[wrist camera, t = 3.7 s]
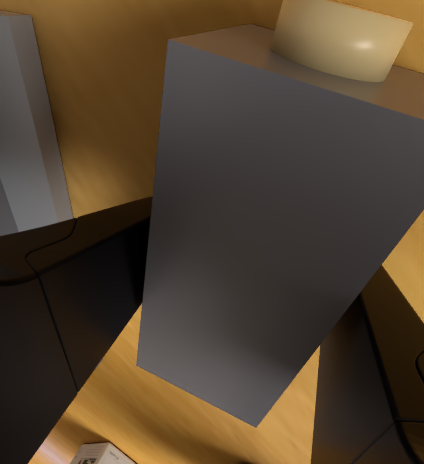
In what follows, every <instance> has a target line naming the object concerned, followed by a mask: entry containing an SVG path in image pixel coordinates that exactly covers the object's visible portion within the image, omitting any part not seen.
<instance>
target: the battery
mask: <svg viewBox="0 0 424 464" xmlns="http://www.w3.org/2000/svg"><path fill="white" fill-rule="evenodd" d="M413 24H414V23H412V22H409V21H406V20H403V19H400V18H396V17H393V16H389V15H386V14H382V13H378V12H375V11H371V10H368V9H364V8H360V7H356V6H353V5H349V4H345V3H341V2H337V1H334V0H283V2H282V6H281V10H280V13H279V17H278V20H277V24H276V28H275V31H274V30H271V29H267V28H264V27H261V26H257V25H254V24H246V25H241V26H236V27H230V28H225V29H220V30H214V31H209V32H204V33H198V34H193V35H188V36H183V37H177V38H172V39H168V44H167V54H166V64H165V75H164V85H163V95H162V106H161V116H160V126H159V137H158V147H157V157H156V168H155V178H154V188H153V199H152V209H151V219H150V229H149V240H148V250H147V260H146V271H145V281H144V291H143V302H142V312H141V322H140V333H139V343H138V353H137V364H136V365H137V366H139V367H140V368H142V369H144V370H146V371H148V372H150V373H152V374H154V375H156V376H158V377H160V378H162V379H163V380H165V381H167V382H169V383H171V384H173V385H175V386H177V387H179V388H181V389H183V390H185V391H186V392H188V393H190V394H192V395H194V396H196V397H198V398H200V399H202V400H204V401H206V402H208V403H209V404H211V405H213V406H215V407H217V408H219V409H221V410H223V411H225V412H227V413H229V414H231V415H232V416H234V417H236V418H238V419H240V420H242V421H244V422H246V423H248V424H250V425H252V426H254V427H255V428H256V427H257V426H258V425H259V423H260V422H261V421H262V420H263V418H264V417H265V416H266V414H267V413H268V412H269V410H270V409H271V408H272V407H273V405H274V404H275V403H276V401H277V400H278V399H279V397H280V396H281V395H282V394H283V392H284V391H285V390H286V388H287V387H288V386H289V384H290V383H291V382H292V380H293V379H294V378H295V377H296V375H297V374H298V373H299V371H300V370H301V369H302V367H303V366H304V365H305V364H306V362H307V361H308V360H309V358H310V357H311V356H312V354H313V353H314V352H315V351H316V349H317V348H318V347H319V345H320V344H321V343H322V341H323V340H324V339H325V337H326V336H327V335H328V334H329V332H330V331H331V330H332V328H333V327H334V326H335V324H336V323H337V322H338V321H339V319H340V318H341V317H342V315H343V314H344V313H345V311H346V310H347V309H348V308H349V306H350V305H351V304H352V302H353V301H354V300H355V298H356V297H357V296H358V295H359V293H360V292H361V291H362V289H363V288H364V287H365V285H366V284H367V283H368V281H369V280H370V279H371V278H372V276H373V275H374V274H375V272H376V271H377V270H378V268H379V267H380V266H381V265H382V263H383V262H384V261H385V259H386V258H387V257H388V255H389V254H390V253H391V252H392V250H393V249H394V248H395V246H396V245H397V244H398V242H399V241H400V240H401V238H402V237H403V236H404V235H405V233H406V232H407V231H408V229H409V228H410V227H411V225H412V224H413V223H414V222H415V220H416V219H417V218H418V216H419V215H420V214H421V212H422V211H423V210H424V74H422V73H418V72H415V71H412V70H408V69H405V68H401V67H398V66H394V65H393V63H394V61H395V59H396V57H397V55H398V53H399V51H400V49H401V47H402V46H403V44H404V42H405V40H406V38H407V36H408V34H409V32H410V30H411V28H412V26H413Z"/></svg>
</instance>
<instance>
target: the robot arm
mask: <svg viewBox="0 0 424 464" xmlns="http://www.w3.org/2000/svg"><path fill="white" fill-rule="evenodd" d="M152 199H153V196H150V197H147V198H143V199H140V200H136V201H133V202H129V203H126V204H122V205H119V206H115V207H111V208H108V209H104V210H101V211H97V212H94V213H90V214H87V215H83V216H80V217H78V218H72V219H69V220H65V221H62V222H58V223H54V224H50V225H47V226H43V227H38V228H34V229H30V230H25V231H21V232H16V233H12V234H7V235H3V236H0V464H28V463H29V461H30V460H31V458H32V457H33V456H34V454H35V453H36V451H37V450H38V449H39V447H40V446H41V444H42V443H43V442H44V440H45V439H46V437H47V436H48V435H49V433H50V432H51V430H52V429H53V427H54V426H55V425H56V423H57V422H58V420H59V419H60V418H61V416H62V415H63V413H64V412H65V411H66V409H67V408H68V406H69V405H70V404H71V402H72V401H73V399H74V398H75V397H76V395H77V392H79V391H80V389H81V388H82V386H83V385H84V384H85V382H86V381H87V379H88V378H89V377H90V375H91V374H92V372H93V371H94V370H95V368H96V367H97V365H98V364H99V363H100V361H101V360H102V358H103V357H104V356H105V354H106V353H107V351H108V350H109V348H110V347H111V346H112V344H113V343H114V341H115V340H116V339H117V337H118V336H119V334H120V333H121V332H122V330H123V329H124V327H125V326H126V325H127V323H128V322H129V320H130V319H131V318H132V316H133V315H134V313H135V312H136V311H137V309H138V308H139V306H140V305H141V304H142V302H143V291H144V281H145V271H146V260H147V250H148V240H149V229H150V219H151V209H152ZM311 464H424V323H423V322H422V320H421V319H420V317H419V316H418V315H417V313H416V312H415V310H414V309H413V308H412V306H411V305H410V303H409V302H408V301H407V299H406V298H405V296H404V295H403V294H402V292H401V291H400V289H399V288H398V287H397V285H396V284H395V283H394V281H393V280H392V278H391V277H390V276H389V274H388V273H387V271H386V270H385V269H384V267H383V266H382V265H381V266H380V267H379V268H378V270H377V271H376V272H375V274H374V275H373V276H372V278H371V279H370V280H369V281H368V283H367V284H366V285H365V287H364V288H363V289H362V291H361V292H360V293H359V295H358V296H357V297H356V298H355V300H354V301H353V302H352V304H351V305H350V306H349V308H348V309H347V310H346V311H345V313H344V314H343V315H342V317H341V318H340V319H339V321H338V322H337V323H336V324H335V326H334V327H333V328H332V330H331V331H330V332H329V334H328V335H327V336H326V337H325V339H324V340H323V341H322V343H321V344H320V356H319V368H318V381H317V393H316V405H315V418H314V430H313V443H312V455H311Z"/></svg>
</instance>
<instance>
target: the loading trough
mask: <svg viewBox="0 0 424 464" xmlns="http://www.w3.org/2000/svg"><path fill="white" fill-rule="evenodd" d="M72 218H73V214H72V209H71V204H70V199H69V195H68V190H67V185H66V180H65V175H64V171H63V166H62V161H61V156H60V151H59V147H58V142H57V137H56V132H55V127H54V123H53V118H52V113H51V108H50V103H49V98H48V94H47V89H46V84H45V79H44V74H43V70H42V65H41V60H40V55H39V50H38V46H37V41H36V36H35V31H34V26H33V22H32V17H31V15H27V14H21V13H15V12H9V11H3V10H0V236H3V235H7V234H12V233H16V232H21V231H25V230H30V229H34V228H38V227H43V226H47V225H50V224H54V223H58V222H62V221H65V220H69V219H72ZM102 360H103V358H102ZM102 360H101V361H102ZM101 361H100V362H101ZM99 364H100V363H99ZM99 364H98V365H99ZM98 365H97V366H98ZM96 368H97V367H96ZM96 368H95V369H96Z"/></svg>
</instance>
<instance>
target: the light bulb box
mask: <svg viewBox="0 0 424 464" xmlns="http://www.w3.org/2000/svg"><path fill="white" fill-rule="evenodd" d="M70 464H136V463H135V462H133V461H132V460H131V459H130V458H128V457H127V456H126V455H125V454H123V453H122V452H121V451H120V450H118V449H117V448H116V447H115V446H113V445H112V444H111V443H109V442H107V443H96V444H83V445H82V446H81V447H80V449H79V450H78V452H77V453H76V455H75V457H74V458H73V460H72V461H71V463H70Z"/></svg>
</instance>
